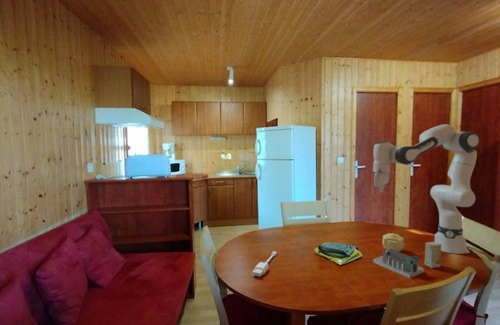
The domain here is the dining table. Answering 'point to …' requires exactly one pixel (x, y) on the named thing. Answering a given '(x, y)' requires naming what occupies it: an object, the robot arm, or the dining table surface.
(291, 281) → the dining table surface
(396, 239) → the sculpture
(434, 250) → the skincare box
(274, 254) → the charging cable
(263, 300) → the dining table surface
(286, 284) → the dining table surface
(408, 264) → the grey dish rack
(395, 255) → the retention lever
